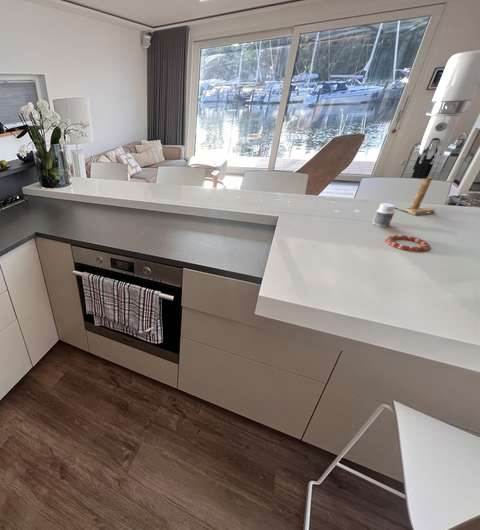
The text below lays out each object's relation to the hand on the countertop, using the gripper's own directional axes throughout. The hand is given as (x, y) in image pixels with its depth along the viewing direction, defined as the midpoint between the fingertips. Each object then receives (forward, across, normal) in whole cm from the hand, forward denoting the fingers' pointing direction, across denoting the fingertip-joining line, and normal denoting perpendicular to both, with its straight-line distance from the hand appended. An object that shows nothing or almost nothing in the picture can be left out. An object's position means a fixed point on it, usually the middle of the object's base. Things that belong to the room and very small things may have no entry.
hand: (419, 174), depth 84 cm
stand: (+22, +36, -5) cm, 43 cm away
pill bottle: (+22, +12, +4) cm, 26 cm away
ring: (+21, -2, -4) cm, 22 cm away
